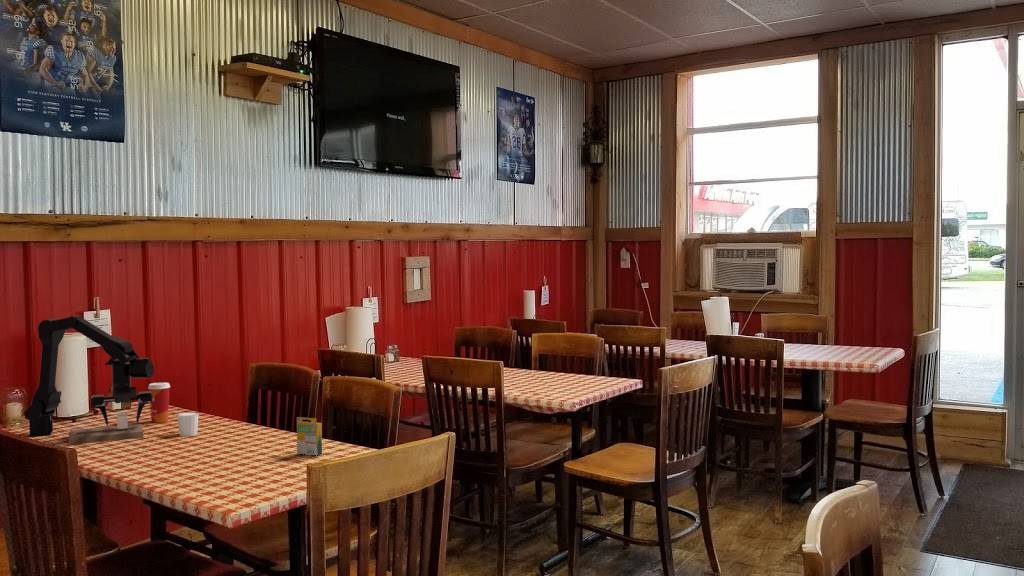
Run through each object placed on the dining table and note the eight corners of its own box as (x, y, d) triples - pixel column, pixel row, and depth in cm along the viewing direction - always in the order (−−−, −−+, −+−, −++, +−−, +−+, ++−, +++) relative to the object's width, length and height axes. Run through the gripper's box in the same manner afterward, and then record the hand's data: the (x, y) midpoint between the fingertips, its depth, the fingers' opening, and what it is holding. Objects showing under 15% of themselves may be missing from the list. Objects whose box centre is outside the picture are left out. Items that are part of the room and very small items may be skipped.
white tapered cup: (202, 432, 282) (202, 412, 282) (192, 436, 275) (192, 416, 275) (183, 432, 283) (183, 411, 283) (173, 436, 276) (173, 415, 276)
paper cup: (149, 420, 303) (149, 382, 303) (172, 418, 306) (171, 381, 305) (147, 424, 296) (146, 386, 295) (170, 423, 298) (169, 384, 298)
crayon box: (322, 454, 251) (322, 416, 250) (317, 456, 248) (316, 418, 247) (302, 452, 253) (301, 415, 253) (296, 454, 250) (296, 417, 250)
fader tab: (117, 430, 275) (117, 416, 274) (117, 427, 280) (117, 413, 280) (127, 429, 276) (127, 415, 276) (126, 426, 281) (126, 412, 281)
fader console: (68, 444, 264) (68, 438, 264) (69, 436, 277) (69, 429, 277) (143, 437, 275) (143, 431, 274) (140, 429, 287) (140, 423, 287)
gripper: (90, 383, 266) (91, 430, 266) (152, 379, 274) (153, 425, 275) (90, 378, 276) (91, 424, 276) (150, 374, 284) (151, 419, 285)
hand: (122, 423), depth 278 cm, fingers open, 9 cm apart
